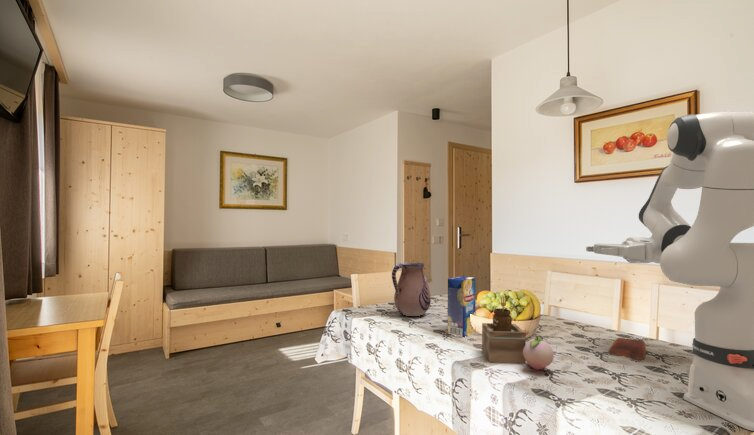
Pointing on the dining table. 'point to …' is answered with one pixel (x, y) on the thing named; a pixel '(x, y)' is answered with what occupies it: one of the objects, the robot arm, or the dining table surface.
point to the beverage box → (460, 305)
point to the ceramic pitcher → (411, 289)
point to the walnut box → (503, 344)
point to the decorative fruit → (538, 353)
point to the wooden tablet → (628, 348)
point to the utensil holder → (502, 318)
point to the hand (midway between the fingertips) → (593, 249)
